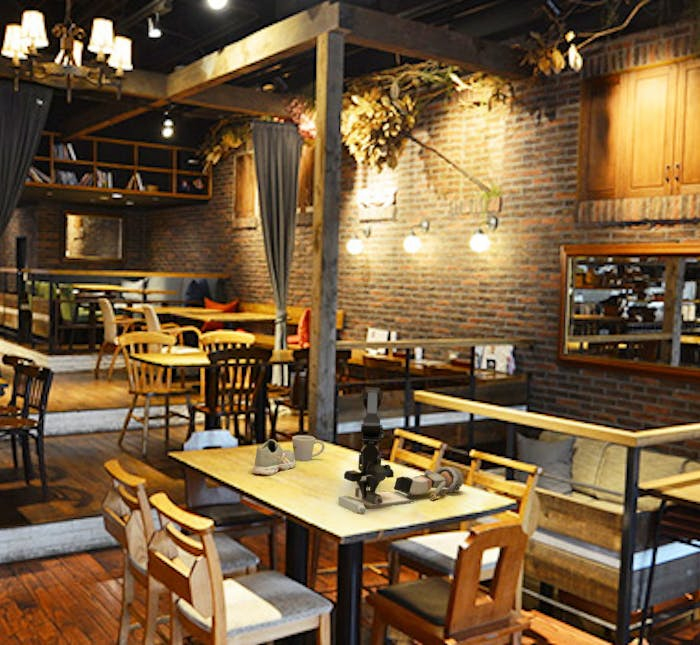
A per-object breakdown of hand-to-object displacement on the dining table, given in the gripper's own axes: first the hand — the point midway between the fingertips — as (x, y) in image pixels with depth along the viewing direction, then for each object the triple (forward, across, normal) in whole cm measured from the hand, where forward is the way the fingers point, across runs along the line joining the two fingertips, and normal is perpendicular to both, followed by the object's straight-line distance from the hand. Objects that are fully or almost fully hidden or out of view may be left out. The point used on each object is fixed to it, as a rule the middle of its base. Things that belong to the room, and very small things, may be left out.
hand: (368, 497), depth 298 cm
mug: (+2, +16, +71) cm, 73 cm away
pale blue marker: (+2, -10, -5) cm, 11 cm away
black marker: (+1, 0, -1) cm, 1 cm away
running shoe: (+2, -6, +60) cm, 60 cm away
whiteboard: (+2, +6, 0) cm, 6 cm away
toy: (+2, +29, -1) cm, 29 cm away
